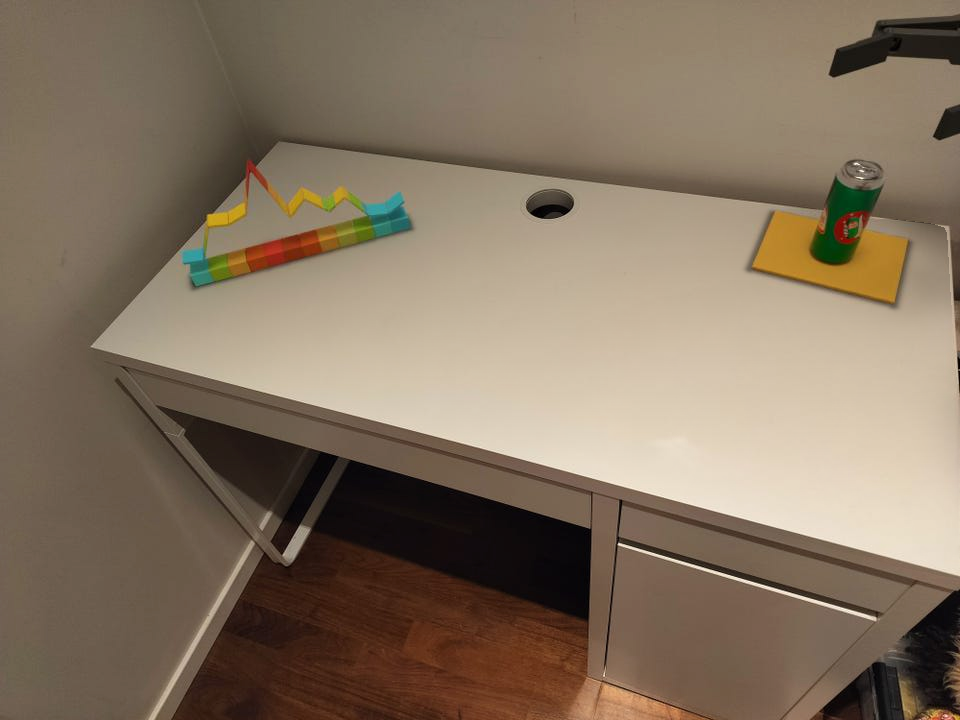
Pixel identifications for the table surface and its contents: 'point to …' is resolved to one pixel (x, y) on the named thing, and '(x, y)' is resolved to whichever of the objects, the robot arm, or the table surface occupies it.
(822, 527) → the table surface
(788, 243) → the orange flat board
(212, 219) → the chart
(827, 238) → the soda can
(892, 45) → the robot arm
